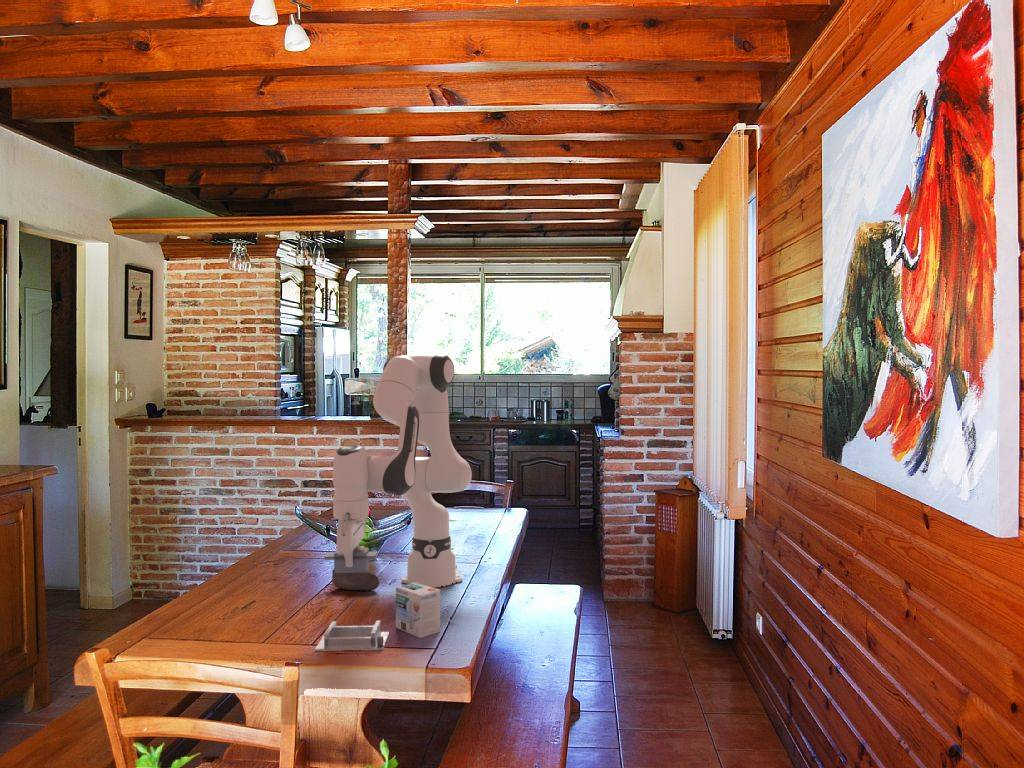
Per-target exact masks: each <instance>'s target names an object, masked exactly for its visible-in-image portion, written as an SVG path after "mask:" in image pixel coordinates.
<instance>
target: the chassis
mask: <svg viewBox="0 0 1024 768" xmlns="http://www.w3.org/2000/svg"><path fill="white" fill-rule="evenodd" d="M381 622H382V621H381V620H376V621H375V623H374V624H373V625H337V620H336V621H335V620H334V621H333V620H332V621H331V622H330V624H329V626H328V627H327V629H326V631H325V632H324V633H323V636H322V637H321V639H320V640H319V642H318V643H317V645H316V647H315V648H314V651H315V652H345V651H344V650H361V651H384V648H385V646H386V643H387V640H388V638H389V635H390V631H381V628H382V627H381V624H382V623H381ZM342 650H343V651H342Z"/></svg>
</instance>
